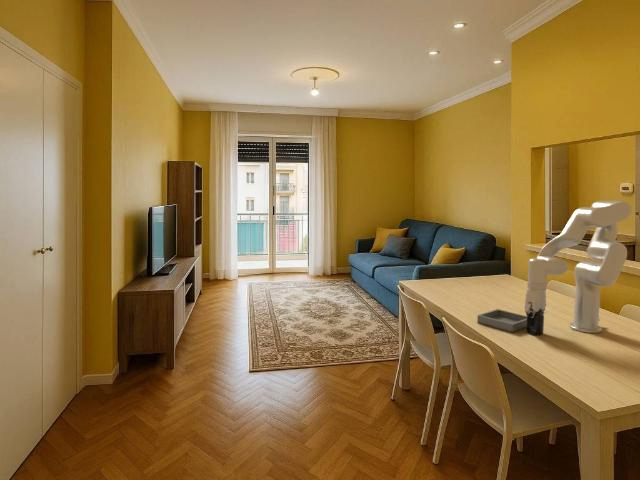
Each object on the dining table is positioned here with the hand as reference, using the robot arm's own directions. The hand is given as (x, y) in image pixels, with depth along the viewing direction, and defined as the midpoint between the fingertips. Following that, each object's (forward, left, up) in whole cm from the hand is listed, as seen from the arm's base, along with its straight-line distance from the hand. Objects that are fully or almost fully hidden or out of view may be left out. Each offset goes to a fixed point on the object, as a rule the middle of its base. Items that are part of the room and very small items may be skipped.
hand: (535, 323), depth 183 cm
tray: (-1, -15, -4) cm, 16 cm away
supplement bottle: (0, 0, -5) cm, 5 cm away
